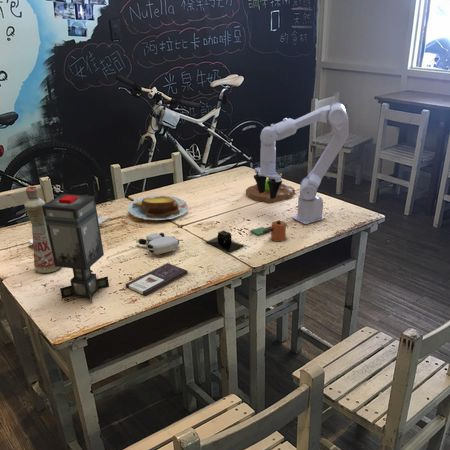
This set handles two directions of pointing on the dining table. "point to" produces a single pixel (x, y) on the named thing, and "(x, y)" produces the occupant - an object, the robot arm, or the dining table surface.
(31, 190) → the bottle
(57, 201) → the explosive device
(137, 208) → the food on plate
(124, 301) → the dining table surface
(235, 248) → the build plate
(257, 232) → the spatula
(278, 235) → the pot
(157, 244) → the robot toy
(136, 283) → the chocolate bar
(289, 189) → the plant
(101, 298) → the dining table surface
